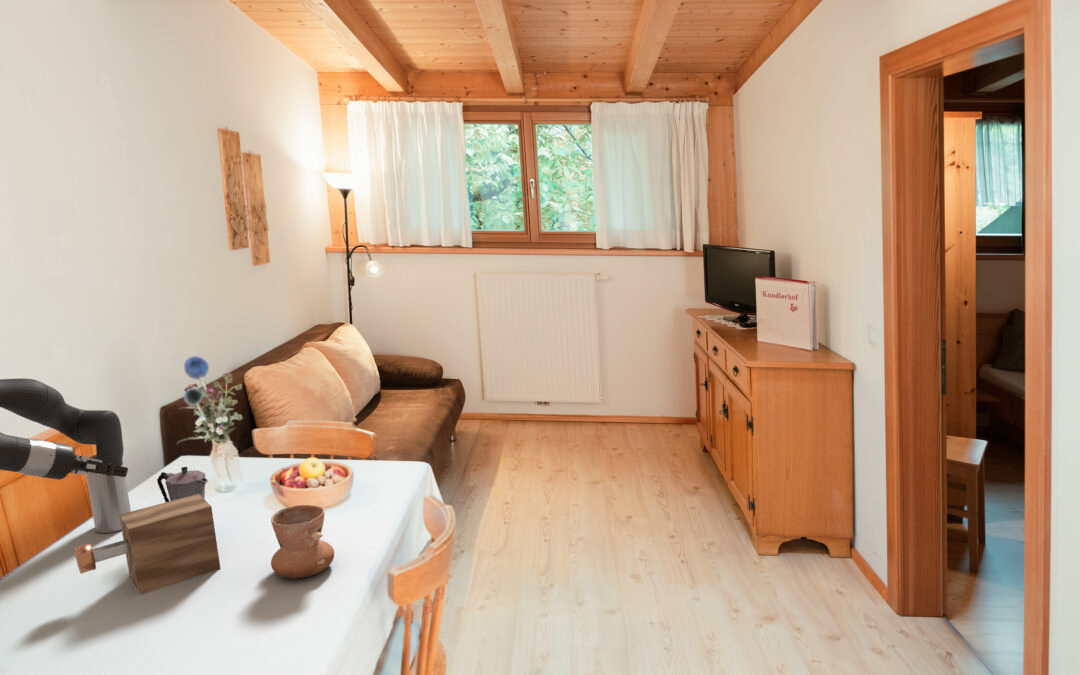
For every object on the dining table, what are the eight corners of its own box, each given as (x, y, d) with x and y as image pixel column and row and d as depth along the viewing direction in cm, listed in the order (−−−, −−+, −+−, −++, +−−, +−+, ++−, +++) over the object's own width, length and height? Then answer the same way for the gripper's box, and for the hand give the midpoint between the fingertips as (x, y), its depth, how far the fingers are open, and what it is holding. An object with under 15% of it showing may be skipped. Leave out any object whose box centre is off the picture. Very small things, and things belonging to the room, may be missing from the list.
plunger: (77, 568, 184) (73, 543, 183) (176, 539, 197) (173, 516, 196) (82, 577, 180) (77, 552, 178) (183, 547, 192) (179, 523, 191)
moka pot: (205, 548, 207) (194, 474, 203) (152, 545, 210) (140, 473, 206) (226, 531, 216) (216, 460, 212) (175, 529, 220) (164, 459, 216)
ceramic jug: (350, 568, 192) (344, 511, 189) (296, 592, 182) (288, 532, 179) (309, 549, 204) (303, 495, 202) (256, 570, 194) (248, 514, 191)
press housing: (129, 577, 194) (119, 514, 190) (207, 553, 204) (198, 493, 201) (139, 594, 185) (128, 529, 182) (220, 568, 196) (211, 506, 192)
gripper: (66, 443, 168) (138, 456, 181) (32, 439, 175) (103, 452, 188) (55, 479, 166) (128, 490, 179) (21, 473, 174) (94, 484, 187)
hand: (115, 470), depth 184 cm, fingers open, 8 cm apart
